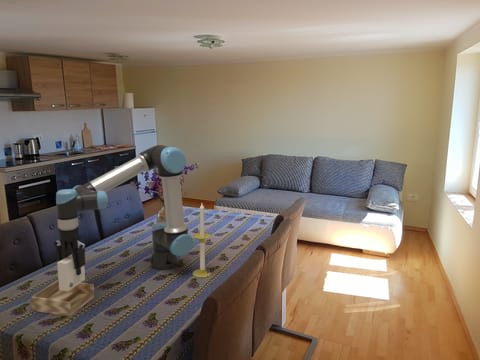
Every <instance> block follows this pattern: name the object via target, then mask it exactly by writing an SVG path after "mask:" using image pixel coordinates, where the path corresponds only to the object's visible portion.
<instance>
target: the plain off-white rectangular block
mask: <svg viewBox="0 0 480 360" xmlns="http://www.w3.org/2000/svg"><path fill="white" fill-rule="evenodd" d="M56 265H57V278H58V279H57V280H59V290H60V291H67V292H68V291H70V290H71V289H72V288H74V287H75V286H77V285H78V284H80V283H84V281H86V272H85V265H84V266H82V267H81V274H80V281H79V282H78V283H74V268H75V265H74V261H73V257H72V254H69V256H68V257H66V258H64V259H63V260H61V261H59V262H57V261H56Z"/></svg>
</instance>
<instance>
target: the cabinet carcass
mask: <svg viewBox="0 0 480 360" xmlns="http://www.w3.org/2000/svg"><path fill="white" fill-rule="evenodd" d="M94 298H95V287H94V284H93V283H85V282H81V283H80V284H78V285H77V286H75V287H74V288H72V289H71V290H70V291H68V292H67V291H60V290H59V280H58V279H57V280H55V281H54V282H52V283H51V284H49V285H47V286H46V287H44V288H43V289H41V290H39V291H38V292H36V293H35V294H33V295H32V296H30V303H31V312H32V311H33V312H38V313H39V312H40V313H47V314H52V315H59V316H62V317H63V316H64V317H71V316H73V315H74V314H75V313H76V312H78V311H79V310H80V309H82V308H83V307H84V306H85V305H86V304H88V303H90V301H91V300H93V299H94Z"/></svg>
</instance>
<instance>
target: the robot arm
mask: <svg viewBox="0 0 480 360" xmlns="http://www.w3.org/2000/svg"><path fill="white" fill-rule="evenodd" d="M186 164H187V158H186V155H185V153H184V152H183V151H182V150H181V149H180V148H178V147H175V146H169V145H164V144H158V145H154V146H151V147H149V148H147V149H146V150H143V151H141V152H140V153H138V154H136V157H134V158H133V159H131V160H128V161H127V162H125V163H123V164H121V165H120V166H117V167H116V168H113V169H112V170H110V171H108V172H105V173H104V174H103V175H100V176H98V177H96V178H95V179H93V180H91V181H89V182H87V183H84V184H83V185H82V184H78V185H75V186H74V187H72V188H68V189H67V188H66V189H59V190H58V191H57V192H56V193H55V194H56V195H55V200H56V201H55V204H56V212H57V214H56V215H57V228H58V237H59V239H58V240H56V241H54V242H53V245H54V248H55V255H56V263H57V262H59V261H61V260H63V259H64V258H66V257H68V256H70V254H71V255H72V257H73V261H74V265H75V268H74V283H78V282H79V281H80V274H81V267H82V266H84V267H85V266H86V246H87V245H86V242H81V240H80V238H79V237H80V227H79V224H80V223H79V212H88V211H94V210H101V209H105V208H107V207H108V205H109V197H108V194H107V192H108V191H111V190H112V189H114V188H116V187H118V186H119V185H122V184H123V183H125V182H127V181H128V180H131V179H132V178H134V177H136V176H138V175H139V174H141V173H143V172H145V173H148V172H149V171H152V170H154V169H157V175H158V176H157V177H159V178H160V180H161V185H162V192H163V203H164V213H165V221H159V222H156V223H153V225H152V226H151V234H152V235H151V237H152V238H151V239H152V253H151V256H150V260H149V266H150V268H152V269H154V270H158V271H159V270H160V271H162V270H171V269H173V268H176V267H177V266H179V263H180V261H179V257H182V256H185V255H187V254H188V253H189V252H190V251H191V249H192V248H193V245H194V241H193V240H194V239H193V237H192V235H190V234H189V229H188V225H187V224H186V223H185V220H184V219H185V218H184V208H183V196H182V195H183V194H182V186H181V176H183V174H184V173H183V171H184V168H186V166H187V165H186Z"/></svg>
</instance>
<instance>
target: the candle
mask: <svg viewBox="0 0 480 360" xmlns="http://www.w3.org/2000/svg"><path fill="white" fill-rule="evenodd" d="M193 238H194V239H198V240H199V268H198V269H195V270H193V272H192V276H193V275H194V276H193V277H195V276H196V277H195V278H197V277H206V278H208V277H207V276H209V277H211V276H210V274H209V273H208V274H207V271H206V270H207V268H206V258H205V257H206V253H205V251H206V243H205V242H206V241H205V240H206V239H210V238H211V234H210V233H208V232H205V206H204V205H203V202H201V205H200V207H199V232H197V233H195V234H194V235H193ZM211 274H212V275H213V272H212V273H211Z"/></svg>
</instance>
